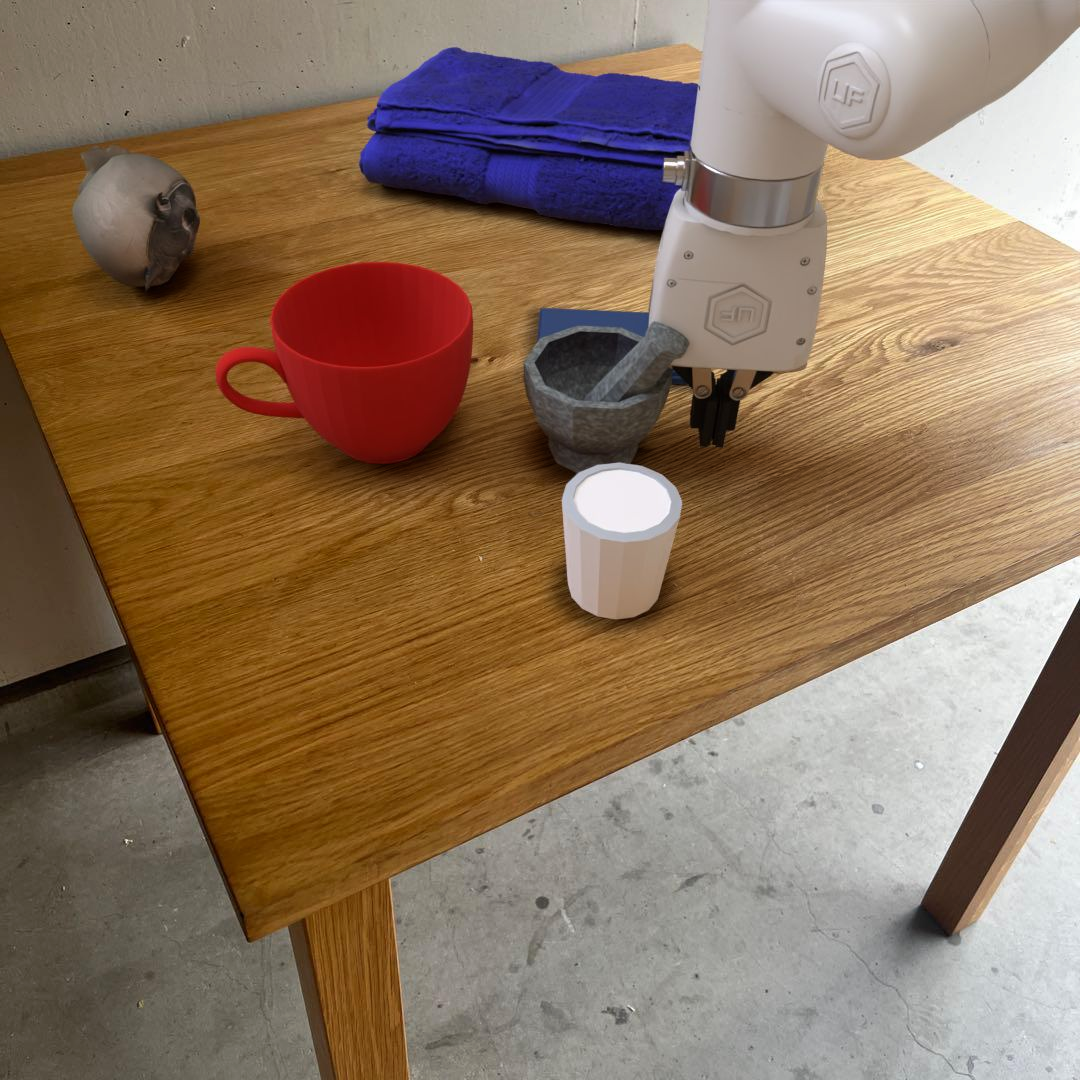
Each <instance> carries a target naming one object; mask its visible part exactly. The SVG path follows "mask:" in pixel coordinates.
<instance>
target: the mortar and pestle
mask: <svg viewBox="0 0 1080 1080" xmlns="http://www.w3.org/2000/svg"><path fill="white" fill-rule="evenodd" d="M645 335H646V336H645V337H642V336H639V335H637V334H635V333H633V332H630V331H628V330H626V329H623V328H620V327H597V326H575V327H572V328H569V329H566V330H563V331H560V332H557V333H554V334H551V335H549V336H546V337H543V338H540V339H539V341H538V342H537V341H536V342H537V343H536V344H535V345H534V346H533V348H532V349H531V351H530V352H529V354H528V355H527V356H526V358H525V359H524V361H523V383H524V389H525V395H526V399H527V402H528V404H529V406H530V408H531V410H532V412H533V415H534V417H535V419H536V422H537V423H538V425H539V427H540V428H541V430H542V431H543V433H544V434H545V436H546V437H548V448H549V450H550V452H551V454H552V457H553V459H554V461H555V463H556V464H558V465H561V466H562V467H564V468H566V469H568V470H570V471H572V472H574V473H575V474H576V475H577V474H578V473H579V472H581V471H584V470H586V469H589V468H591V467H594V466H596V465H602V464H612V463H625V464H632V461H633V459H634V458H635V455H636V454H637V452H638V449H639V443H640V442H643V441H644V440H645V439H646V437H647V436H648V435H649V434H650V432H652V430H653V429H654V428H655V425H656V424H657V422H658V419H659V418H660V415H661V413H662V412H663V410H664V408H665V406H666V403H667V400H668V397H669V394H670V391H671V388H672V385H673V384H672V376H673V369H671V368H668V367H669V365H670V364H671V363H672V361H673V360H675V359H679V358H681V357H682V356H683V355H684V354H685V352H686V350H687V348H688V346H689V341H688V339H687V338H686V337H685V336H684V335H683V334H681V333H680V332H679V331H677V330H675V329H673V328H671V327H669V326H667V325H664V324H661V323H658V322H655V321H653V322H652V323H651V324H650V326H649V327H648V329H647V331H646V333H645Z"/></svg>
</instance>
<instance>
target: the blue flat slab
mask: <svg viewBox="0 0 1080 1080" xmlns="http://www.w3.org/2000/svg"><path fill="white" fill-rule="evenodd" d="M538 317H539V318H538V327H537V329H538V330H537V340H536V342H538V341H539V339H540V338H543V337H546V336H549V335H551V334H554V333H557V332H560V331H563V330H566V329H569V328H572V327H575V326H597V327H620V328H623V329H626V330H628V331H630V332H633V333H635V334H637V335H639V336H642V337H644V336H645V333H646V331H647V329H648V326H649V312H644V311H643V312H642V311H623V310H622V311H621V310H620V311H619V310H600V309H599V310H596V309H575V308H555V307H554V308H553V307H552V308H551V307H542V308H539V316H538ZM671 385H685V386H686V385H687V386H689V385H688V384H687V383H686V382H685V381H684V380H683V379H682V378H681V377H680V376H679V375H678V374H677V373H676V372H675V371H674V370H673V376H672V384H671Z"/></svg>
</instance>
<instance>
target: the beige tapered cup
mask: <svg viewBox="0 0 1080 1080" xmlns="http://www.w3.org/2000/svg"><path fill="white" fill-rule="evenodd" d="M682 506H683V500H682V498H681V496H680V493H679V490H678V489H677V487H676V485H674V484H673V483H672V482H671V481H670V480H669V479H668V478H666V477H665V476H664V475H663V473H662V474H661V473H659V472H657V471H655V470H653V469H650V468H648V467H647V466H644V465H638V464H632V463H631V464H625V463H612V464H602V465H596V466H594V467H591V468H589V469H586V470H584V471H581V472H579V473H578V474H577V473H576V474H575V475H574V476H573V477H572V478H571V479H570V480H569V481H568V482H567V483H566V484H565V487H564V491H563V494H562V497H561V509H562V522H563V537H564V549H565V563H566V576H567V585H568V589H569V593H570V596H571V599H573V601H574V602H575V603H576V604H577V605H578V606H579V607H580V608H581V609H582V610H584V611H586V612H588V613H590V614H592V615H594V616H596V617H599V618H604V619H610V620H621V619H622V620H623V619H629V618H630V619H631V618H635V617H637V616H639V615H642V614H643V613H646V612H648V611H649V610H650V609H651V608H652V607H653V606H654V604H655V603H657V601H658V599H659V596H660V593H661V588H662V584H663V581H664V578H665V575H666V571H667V566H668V564H669V563H668V562H669V560H670V559H669V558H670V555H671V552H672V547H673V543H674V540H675V536H676V533H677V529H678V525H679V521H680V518H681V512H682Z"/></svg>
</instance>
